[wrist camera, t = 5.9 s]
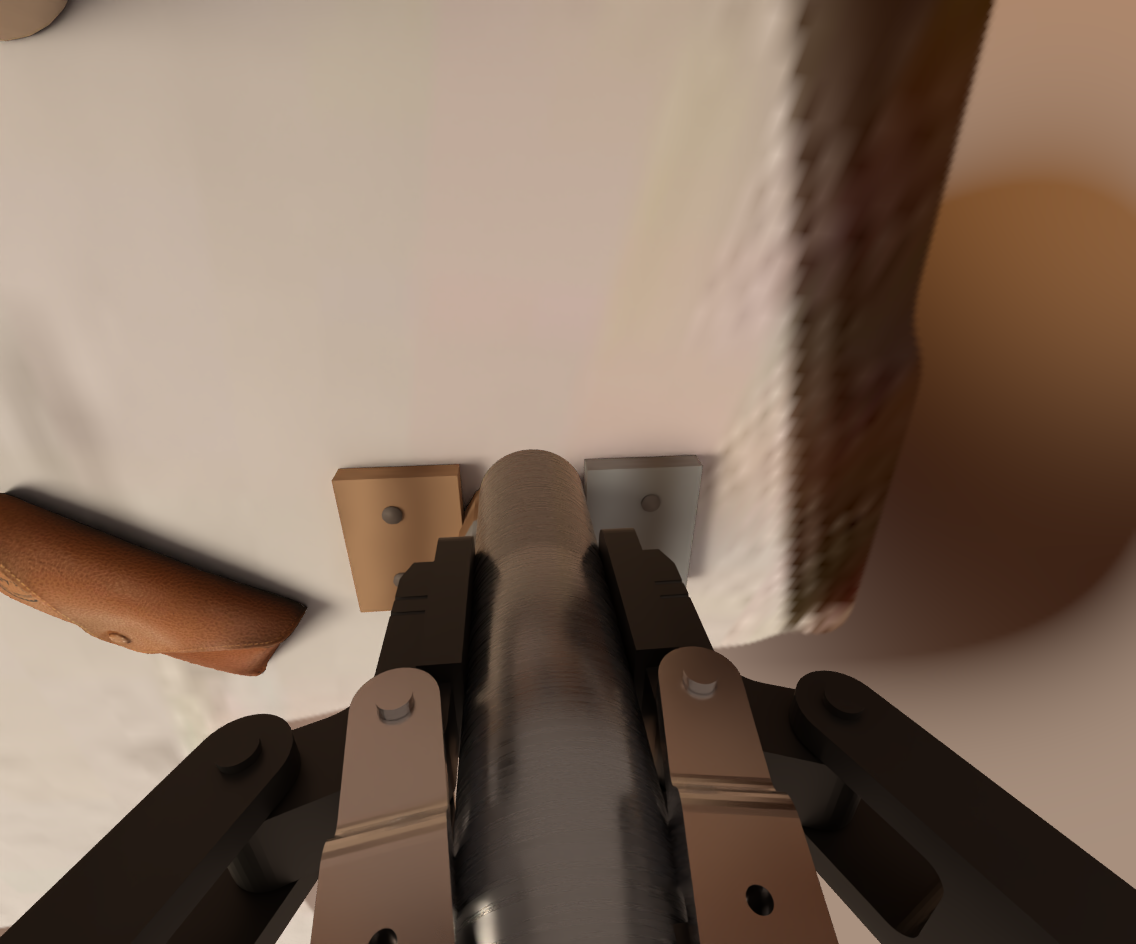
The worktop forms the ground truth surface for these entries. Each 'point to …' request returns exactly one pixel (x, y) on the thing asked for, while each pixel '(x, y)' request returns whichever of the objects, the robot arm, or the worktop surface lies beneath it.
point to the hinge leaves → (435, 509)
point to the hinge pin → (553, 735)
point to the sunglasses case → (138, 593)
